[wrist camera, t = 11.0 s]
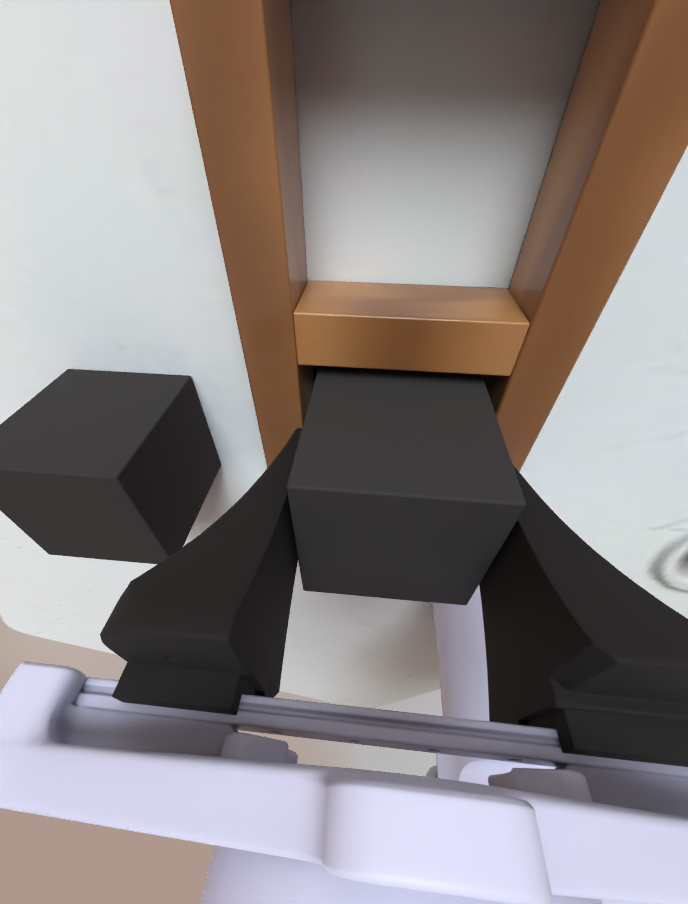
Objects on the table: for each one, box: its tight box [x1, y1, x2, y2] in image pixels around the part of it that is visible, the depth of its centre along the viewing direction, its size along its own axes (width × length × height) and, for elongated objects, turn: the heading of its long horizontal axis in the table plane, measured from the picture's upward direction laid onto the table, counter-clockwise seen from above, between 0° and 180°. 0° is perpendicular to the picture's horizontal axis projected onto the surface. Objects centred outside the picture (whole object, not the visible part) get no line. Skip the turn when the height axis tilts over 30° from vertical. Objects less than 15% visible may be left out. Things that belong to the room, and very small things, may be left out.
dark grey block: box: [286, 366, 526, 605], centre depth 11 cm, size 5×5×6 cm
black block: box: [0, 369, 221, 564], centre depth 14 cm, size 5×5×6 cm
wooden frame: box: [170, 0, 688, 471], centre depth 11 cm, size 9×17×2 cm, turn 0°
